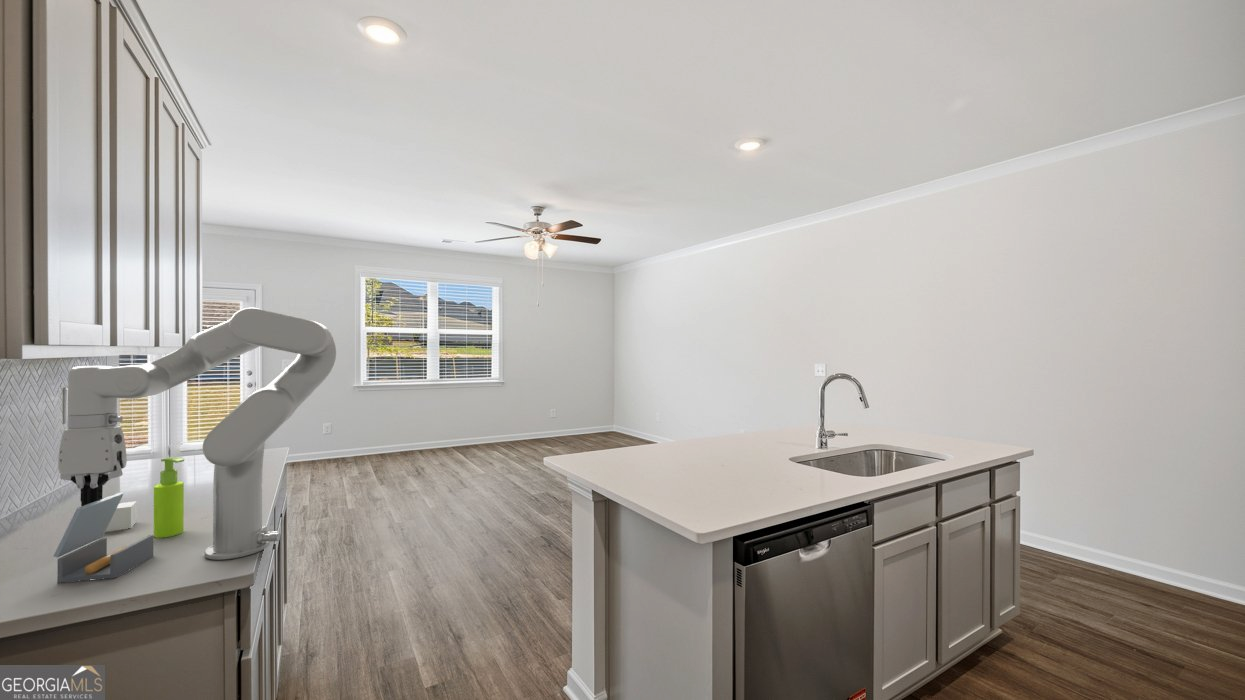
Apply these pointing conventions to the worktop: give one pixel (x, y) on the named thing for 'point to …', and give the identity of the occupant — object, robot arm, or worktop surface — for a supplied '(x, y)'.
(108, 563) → the cable duct
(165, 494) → the soap dispenser
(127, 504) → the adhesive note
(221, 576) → the worktop surface
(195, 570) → the worktop surface
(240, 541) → the robot arm
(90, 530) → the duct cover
